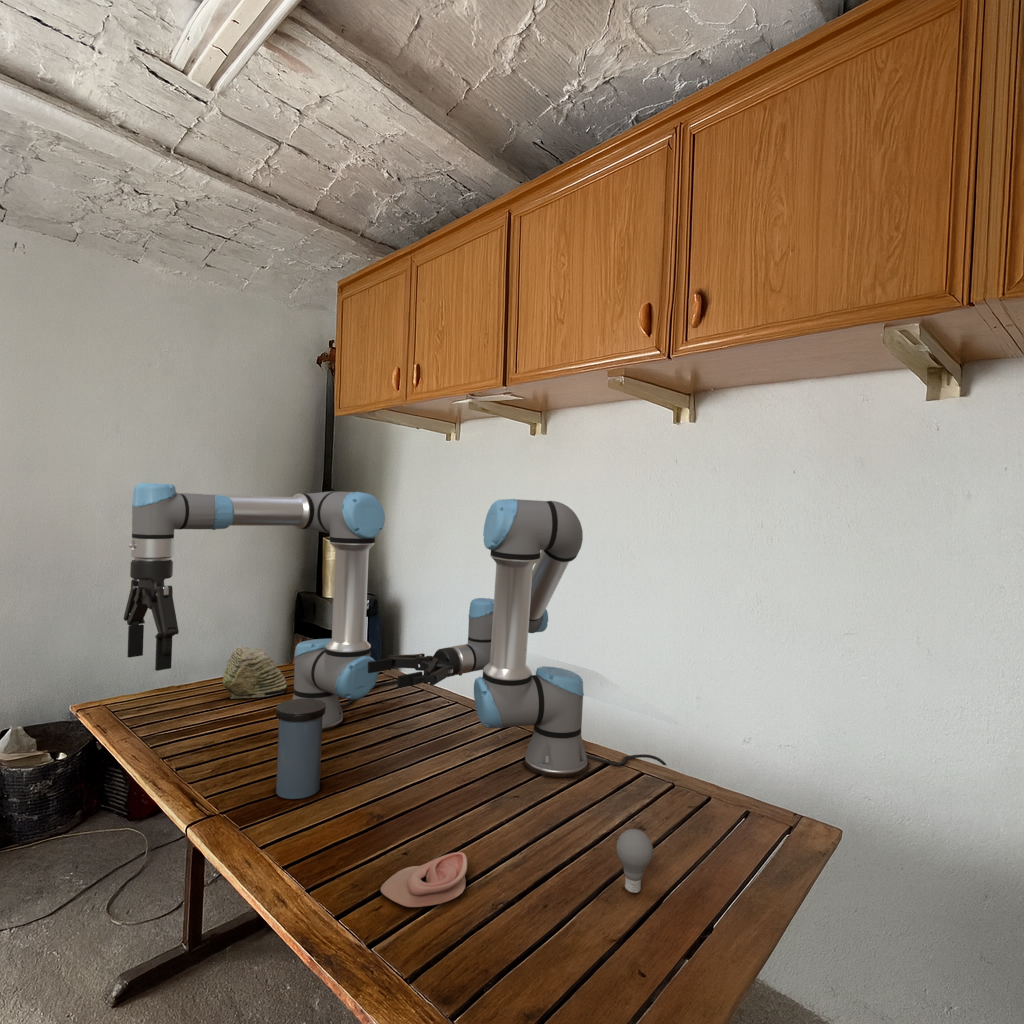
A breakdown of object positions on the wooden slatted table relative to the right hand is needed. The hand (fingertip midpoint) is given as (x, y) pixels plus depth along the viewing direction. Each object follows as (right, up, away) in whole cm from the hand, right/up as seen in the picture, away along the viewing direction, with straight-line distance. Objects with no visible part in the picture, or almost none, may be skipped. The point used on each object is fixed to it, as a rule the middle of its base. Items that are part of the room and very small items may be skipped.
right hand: (382, 674), depth 153 cm
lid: (-14, -3, -17) cm, 22 cm away
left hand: (-43, +9, -24) cm, 50 cm away
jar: (-15, -20, -17) cm, 30 cm away
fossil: (-49, -18, +45) cm, 69 cm away
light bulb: (+51, -24, -48) cm, 74 cm away
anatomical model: (+17, -22, -49) cm, 57 cm away
